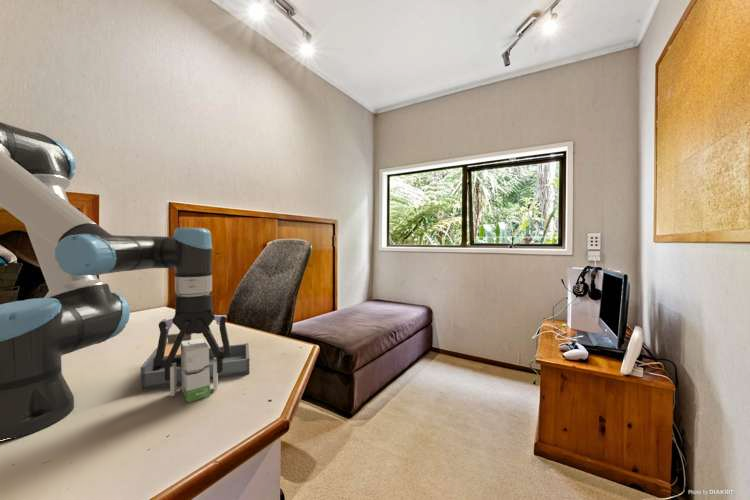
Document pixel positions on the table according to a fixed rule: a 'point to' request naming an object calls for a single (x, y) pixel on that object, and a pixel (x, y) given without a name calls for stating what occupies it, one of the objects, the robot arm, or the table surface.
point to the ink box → (195, 369)
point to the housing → (231, 367)
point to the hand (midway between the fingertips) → (195, 389)
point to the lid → (171, 342)
